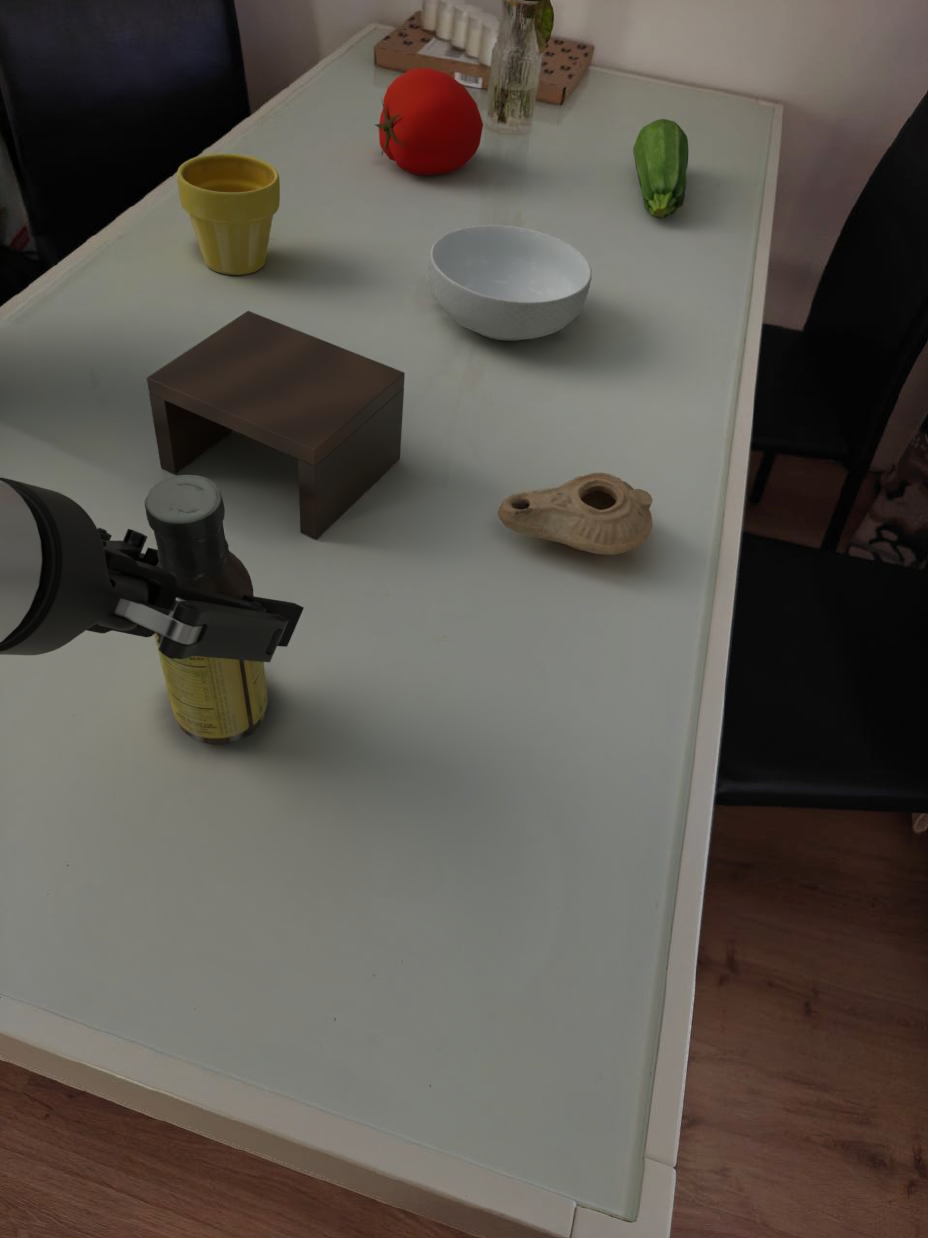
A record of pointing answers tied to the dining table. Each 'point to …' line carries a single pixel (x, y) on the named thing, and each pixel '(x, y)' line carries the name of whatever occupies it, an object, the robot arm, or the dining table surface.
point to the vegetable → (662, 166)
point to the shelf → (284, 409)
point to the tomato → (429, 123)
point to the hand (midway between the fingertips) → (245, 602)
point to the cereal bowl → (508, 281)
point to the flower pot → (230, 208)
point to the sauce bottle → (199, 556)
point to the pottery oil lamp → (583, 514)
